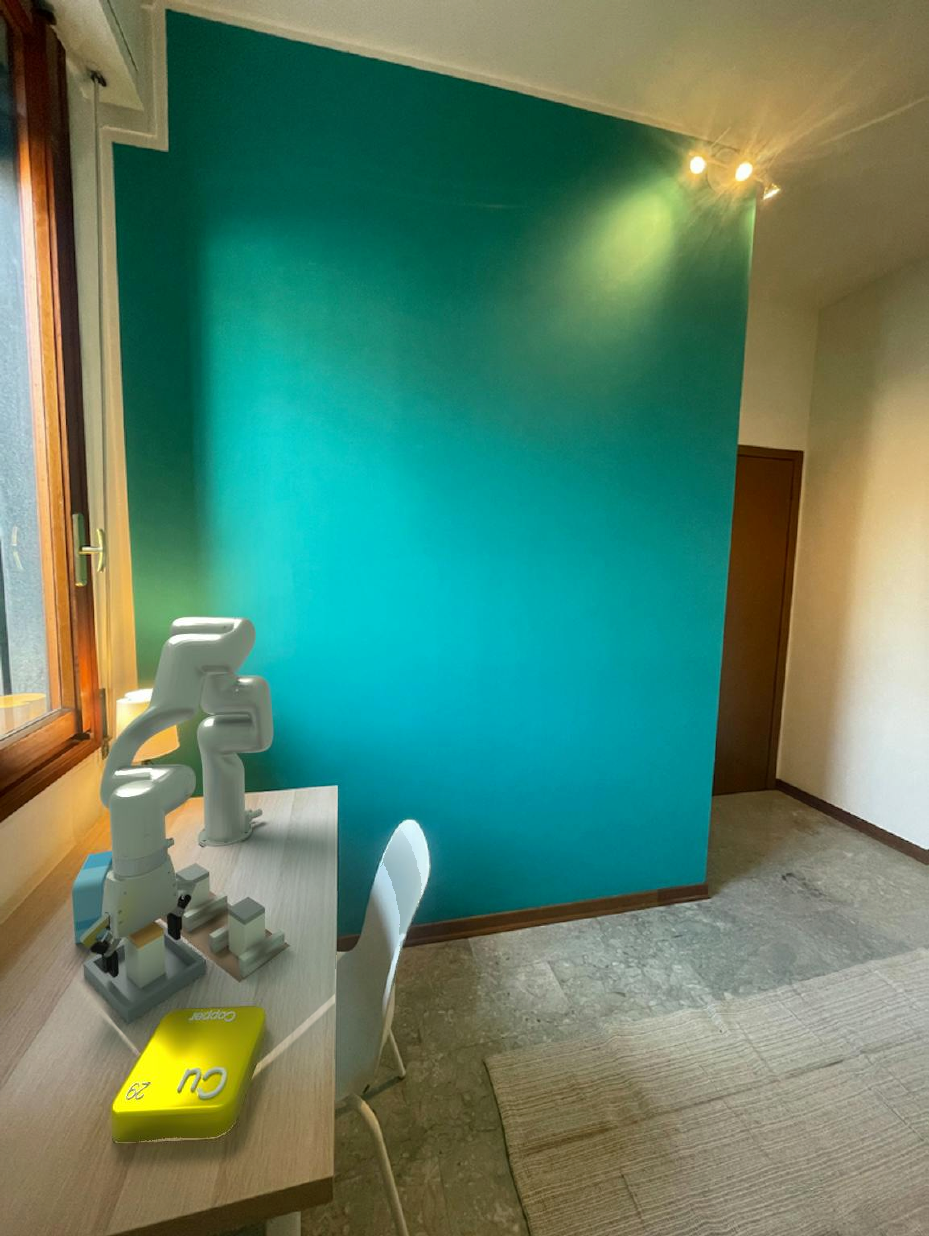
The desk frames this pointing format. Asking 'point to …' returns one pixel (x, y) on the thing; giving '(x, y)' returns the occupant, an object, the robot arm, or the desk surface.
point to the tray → (138, 1001)
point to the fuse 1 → (202, 884)
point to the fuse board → (226, 938)
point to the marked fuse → (145, 954)
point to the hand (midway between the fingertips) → (144, 954)
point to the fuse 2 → (245, 925)
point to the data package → (90, 893)
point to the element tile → (190, 1075)
